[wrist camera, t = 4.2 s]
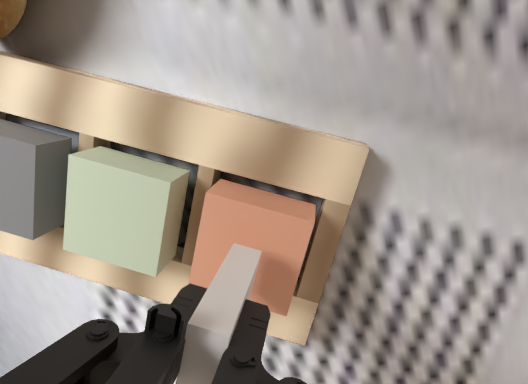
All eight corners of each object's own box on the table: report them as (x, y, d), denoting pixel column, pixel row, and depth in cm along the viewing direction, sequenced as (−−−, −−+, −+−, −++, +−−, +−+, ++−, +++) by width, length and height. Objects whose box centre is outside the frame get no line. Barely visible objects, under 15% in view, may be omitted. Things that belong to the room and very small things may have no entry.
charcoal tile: (-12, 199, 25) (-55, 214, 22) (-13, 115, 23) (-60, 119, 20) (66, 222, 24) (32, 240, 22) (71, 138, 23) (35, 145, 20)
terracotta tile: (203, 262, 24) (187, 286, 21) (220, 178, 22) (205, 192, 19) (290, 288, 23) (286, 316, 20) (315, 204, 21) (314, 222, 19)
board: (-12, 231, 28) (-36, 242, 26) (-14, 47, 24) (-43, 43, 22) (305, 327, 26) (304, 346, 24) (365, 143, 22) (369, 148, 20)
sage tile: (93, 230, 24) (62, 249, 21) (100, 146, 22) (68, 154, 20) (175, 254, 24) (155, 277, 21) (190, 170, 22) (170, 182, 19)
